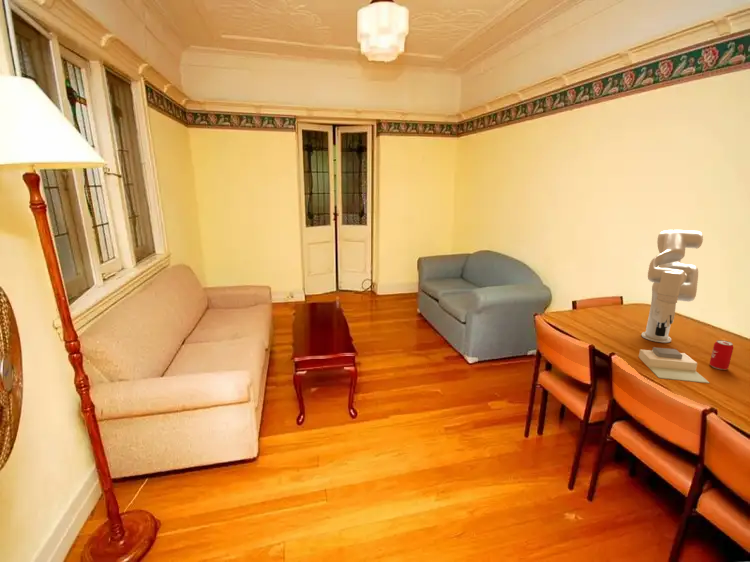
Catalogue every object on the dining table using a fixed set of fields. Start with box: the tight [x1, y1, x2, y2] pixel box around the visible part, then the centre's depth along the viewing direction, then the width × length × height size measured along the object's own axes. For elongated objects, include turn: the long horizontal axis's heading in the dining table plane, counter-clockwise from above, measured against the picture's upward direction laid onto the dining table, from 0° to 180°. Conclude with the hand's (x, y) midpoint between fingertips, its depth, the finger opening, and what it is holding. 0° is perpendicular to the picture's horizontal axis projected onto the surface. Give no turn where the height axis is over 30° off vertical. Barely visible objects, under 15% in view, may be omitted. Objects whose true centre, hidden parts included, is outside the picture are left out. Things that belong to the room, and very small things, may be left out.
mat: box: [647, 366, 710, 384], centre depth 158 cm, size 10×18×1 cm, turn 76°
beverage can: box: [709, 339, 734, 371], centre depth 163 cm, size 6×6×12 cm
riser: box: [638, 349, 698, 372], centre depth 167 cm, size 10×18×4 cm, turn 76°
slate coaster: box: [652, 347, 682, 359], centre depth 167 cm, size 6×9×2 cm, turn 76°
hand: (659, 335), depth 174 cm, fingers closed
